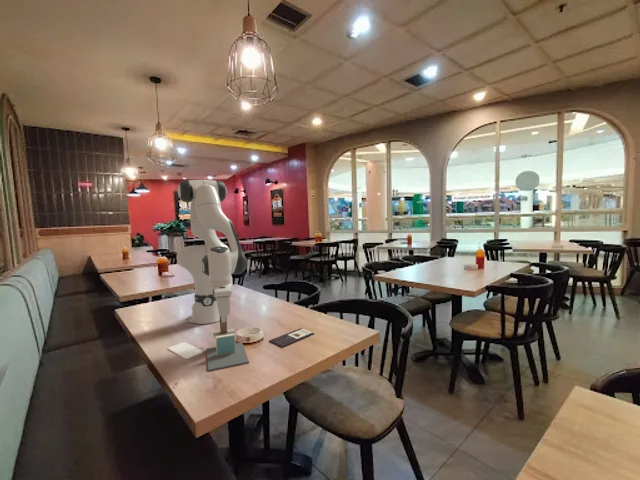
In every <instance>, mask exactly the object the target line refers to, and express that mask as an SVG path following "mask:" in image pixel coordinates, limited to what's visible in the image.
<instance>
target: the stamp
mask: <svg viewBox="0 0 640 480" xmlns="http://www.w3.org/2000/svg"><path fill="white" fill-rule="evenodd" d="M227 317H228V316H227ZM227 317H226V322H223V323H222V322H221V317H220V320H219V329H220V331H214V332H213V333H212V334H213V339H216V336H222V335H228V334H234V333H235V329H234V328H231V329H228V322H227Z"/></svg>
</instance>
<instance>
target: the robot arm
mask: <svg viewBox="0 0 640 480" xmlns="http://www.w3.org/2000/svg"><path fill="white" fill-rule="evenodd" d="M227 189H228V188H227V187H226V184H225V183H224V181H221V180H218V179H217V180H215V179H214V180H211V179H205V178H204V179H203V178H202V179H190V180H189V179H185V180H181V181H180V182H179V183H178V186H177V195H178V198H179V199H180V200H181V201H182V202H184V203H188V204H189V203H190V206H189V220H190V231H191V234H192V236H194V237H196V238H198V239H200V240H203V242H204V244H201V245H199V244H196V245H187V246H184V247H181V248H180V249H179V250H178V251H177V253H176V261H177V264H178V265H179V266H180V267H181V268H183V269H185V270H186V271H187V272H188V273H189V274H190V275H191V277H192V280H193V284H194V292H195V293H194V297H193V299H194V303H193V304H192V306H191V311H192V312H191V316H190V318H189V319H188V323H193V324H197V325H198V324H199V325H207V324H212V323H216V322H220V317H221V322H222V323H223V322H226V317H229V315H230V314H231V313H230V312H231V296H232V295H233V291H234V287H233V276H232V275H241V274H243V273H244V272H245V270H246V268H247V266H248V261H247V257H246V256H245V255H246V254H245V253H244V251H243V248H242V246H241V243H240V240H239V237H238V234H237V231H236V228H235V226H234V223H233V222H232V220H231V218H230V217H227V216H226V214H225V213H224V212H223V210H222V203H221V202H224V201H225V200H226V198H227V194H228V193H227V192H228V191H227ZM217 232H220V233H222V234H223V235H224V236H225V238H226V239H227V243H228V245H226V244H225V243H223V242H222V241H221V240H220V239H219V237H218V236H217Z"/></svg>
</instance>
